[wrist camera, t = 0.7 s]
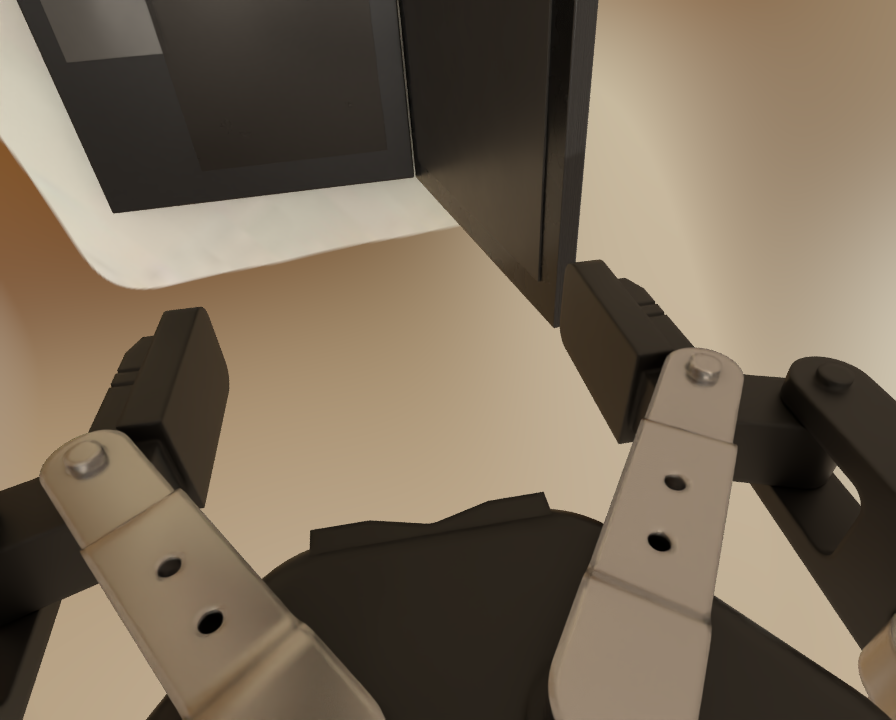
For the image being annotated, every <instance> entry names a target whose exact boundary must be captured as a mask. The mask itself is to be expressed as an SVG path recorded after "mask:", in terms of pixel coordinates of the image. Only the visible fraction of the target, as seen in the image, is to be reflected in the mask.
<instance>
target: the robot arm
mask: <svg viewBox="0 0 896 720" xmlns="http://www.w3.org/2000/svg"><path fill="white" fill-rule="evenodd" d="M560 333H561V338H562V342H563V344H564V346H565V349H566V350H567V352H568V354H569V356H570V357H571V359H572V361H573V363H574V364H575V366H576V368H577V370H578V372H579V374H580V375H581V377H582V379H583V381H584V383H585V384H586V386H587V388H588V390H589V391H590V393H591V395H592V397H593V399H594V401H595V402H596V404H597V406H598V407H599V410H600V411H601V413H602V415H603V417H604V419H605V420H606V422H607V424H608V426H609V428H610V429H611V431H612V433H613V435H614V437H615V438H616V440H617V442H618V443H619V444H622V443H629V442H633V444H632V447H631V449H630V452H629V455H628V458H627V461H626V463H625V466H624V469H623V472H622V475H621V477H620V480H619V483H618V486H617V488H616V491H615V494H614V497H613V500H612V502H611V505H610V508H609V511H608V513H607V516H606V519H605V522H604V524H603V523H601V522H599V521H597V520H595V519H592V518H589V517H587V516H584V515H580V514H577V513H573V512H568V511H563V510H555V509H550V507H549V505H548V502H547V500H546V497H545V494H544V492H540V493H534V494H527V495H521V496H515V497H509V498H503V499H497V500H491V501H487V502H484V503H482V504H480V505H477V506H475V507H472V508H470V509H467V510H465V511H463V512H460V513H458V514H455V515H453V516H451V517H448V518H445V519H443V520H441V521H438V522H435V523H431V524H422V523H405V522H386V521H364V522H358V523H351V524H346V525H339V526H334V527H327V528H322V529H315V530H311V531H310V549H309V550H307V551H305V552H302V553H300V554H298V555H296V556H294V557H293V558H291V559H289V560H287V561H285V562H284V563H282V564H281V565H279V566H278V567H276V568H275V569H274V570H272V571H271V572H270V573H269V574H268V575H266V576H265V577H264V578H263V579H261V578H260V577H259V575H258V574H257V573H256V572H255V571H254V570H253V569H252V568H251V566H250V565H249V564H248V563H247V562H246V561H245V560H244V558H243V557H242V556H241V555H240V554H239V553H238V552H237V551H236V549H235V548H234V547H233V546H232V545H231V544H230V543H229V541H228V540H227V539H226V538H225V537H224V536H223V535H222V534H221V532H220V531H219V530H218V529H217V528H216V527H215V526H214V524H213V523H212V522H211V521H210V520H209V519H208V518H207V517H206V515H205V514H204V513H203V512H202V511H201V510H200V508H204V507H205V502H206V498H207V493H208V488H209V483H210V478H211V474H212V469H213V464H214V460H215V455H216V450H217V445H218V440H219V436H220V431H221V426H222V422H223V417H224V412H225V407H226V403H227V398H228V393H229V375H228V369H227V365H226V362H225V359H224V357H223V354H222V351H221V348H220V346H219V343H218V340H217V337H216V335H215V332H214V329H213V326H212V324H211V321H210V318H209V316H208V314H207V311H206V310H205V309H204V308H203V307H195V308H186V309H178V310H170V311H165V312H164V313H163V315H162V318H161V320H160V322H159V325H158V327H157V330H156V332H155V334H154V336H148V337H142V338H141V339H140V340H139V341H138V342H137V343H136V344H135V345H134V346H133V347H132V348H131V349H129V350H128V351H127V352H126V353H125V355H124V357H123V360H122V362H121V364H120V366H119V368H118V370H117V371H118V374H115V376H114V379H113V381H112V383H111V388H109V389H108V391H107V394H106V396H105V398H104V400H103V402H102V404H101V407H100V409H99V411H98V413H97V415H96V417H95V419H94V422H93V424H92V426H91V428H90V430H89V432H88V433H86V434H83V435H81V436H79V437H76V438H74V439H72V440H70V441H68V442H67V443H65V444H64V445H62V446H61V447H59V448H58V449H57V450H56V451H54V452H53V453H52V454H51V455H50V456H49V458H48V459H47V460H46V461H45V463H44V464H43V466H42V468H41V471H40V475H39V477H37V478H35V479H33V480H30V481H27V482H24V483H22V484H19V485H16V486H13V487H11V488H8V489H5V490H2V491H0V720H23V716H24V714H25V710H26V707H27V704H28V701H29V698H30V695H31V692H32V689H33V686H34V683H35V680H36V677H37V673H38V671H39V668H40V665H41V662H42V658H43V655H44V652H45V649H46V646H47V643H48V640H49V637H50V634H51V631H52V628H53V624H54V622H55V619H56V616H57V613H58V609H59V607H60V603H61V600H62V599H64V598H67V597H69V596H71V595H73V594H76V593H78V592H80V591H82V590H85V589H87V588H89V587H92V586H94V585H96V584H100V586H101V588H102V589H103V591H104V592H105V594H106V596H107V597H108V599H109V600H110V602H111V604H112V605H113V607H114V609H115V610H116V612H117V613H118V615H119V617H120V618H121V620H122V621H123V623H124V625H125V626H126V628H127V629H128V631H129V633H130V634H131V636H132V638H133V639H134V641H135V642H136V644H137V646H138V647H139V649H140V651H141V652H142V654H143V656H144V657H145V659H146V660H147V662H148V664H149V665H150V667H151V668H152V670H153V672H154V673H155V675H156V677H157V678H158V680H159V681H160V683H161V685H162V686H163V688H164V690H165V691H166V693H167V694H166V695H165V697H164V698H163V699H162V700H161V702H160V703H159V704H158V705H157V707H156V708H155V709H154V710H153V712H152V713H151V714H150V715H149V717H148V718H147V719H146V720H896V401H895V400H894V399H893V398H892V397H891V396H890V395H889V394H888V393H887V392H886V391H884V390H883V389H882V388H881V387H880V386H879V385H878V384H877V383H876V382H875V381H874V380H872V379H871V378H870V377H869V376H868V375H867V374H866V373H864V372H863V371H861V370H860V369H858V368H856V367H854V366H852V365H850V364H847V363H845V362H842V361H839V360H836V359H832V358H826V357H805V358H801V359H798V360H796V361H795V362H794V363H793V364H792V365H791V367H790V369H789V371H788V373H787V376H786V378H780V377H767V376H754V375H745V374H743V372H742V370H741V368H740V367H739V366H738V365H737V364H736V363H735V362H734V361H733V360H732V359H730V358H729V357H727V356H725V355H723V354H721V353H718V352H716V351H713V350H709V349H704V348H695V347H694V346H693V345H692V344H691V343H690V342H689V340H688V339H687V338H686V337H685V336H684V335H683V333H682V332H681V331H680V330H679V329H678V328H677V326H676V325H675V324H674V323H673V322H672V321H671V319H670V318H669V317H668V316H667V315H664V311H663V310H662V309H661V308H660V307H659V306H658V304H655V301H654V300H653V299H652V297H651V296H650V295H649V294H648V293H647V292H646V290H645V289H644V288H642V287H640V286H639V285H637V284H635V283H633V282H632V281H630V280H628V279H626V278H621V279H617V277H616V276H615V275H614V274H613V273H612V271H611V270H610V269H609V268H608V266H607V265H606V264H605V263H604V262H603V261H602V260H592V261H584V262H575V263H569V264H568V265H567V266H566V269H565V274H564V283H563V293H562V303H561V313H560ZM836 466H838V467H839V468H840V469H841V470H842V471H843V473H844V474H845V475H846V476H847V477H848V478H849V480H850V481H851V482H852V483H853V485H854V486H855V487H856V489H857V491H858V494H859V497H860V500H861V506H860V505H859V503H858V502H857V501H856V500H855V499H854V497H853V496H852V495H851V494H850V493H849V491H848V490H847V489H846V488H845V487H844V485H843V484H842V483H841V482H840V481H839V479H838V478H837V477H836V476H835V475H834V473H833V471H834V469H835V468H836ZM732 481H736V482H745V483H750V484H751V486H752V487H753V489H754V490H755V491H756V493H757V495H758V496H759V498H760V499H761V501H762V502H763V504H764V505H765V506H766V508H767V510H768V511H769V513H770V514H771V515H772V517H773V518H774V520H775V521H776V523H777V524H778V526H779V527H780V529H781V530H782V532H783V533H784V535H785V536H786V538H787V539H788V541H789V542H790V544H791V545H792V547H793V548H794V550H795V551H796V553H797V554H798V556H799V557H800V559H801V560H802V562H803V563H804V565H805V566H806V567H807V569H808V571H809V572H810V574H811V575H812V577H813V578H814V580H815V581H816V583H817V584H818V585H819V587H820V588H821V590H822V591H823V593H824V595H825V596H826V597H827V599H828V600H829V602H830V604H831V605H832V607H833V608H834V610H835V611H836V612H837V614H838V615H839V617H840V618H841V620H842V621H843V623H844V624H845V626H846V627H847V629H848V630H849V632H850V633H851V635H852V636H853V637H854V639H855V641H856V642H857V644H858V645H859V647H860V648H861V650H862V652H861V653H860V657H859V661H858V669H859V675H860V678H861V681H862V684H863V686H864V688H865V690H866V692H867V694H868V696H869V697H868V698H867V697H865V696H864V695H863V694H861V693H860V692H858V691H857V690H856V689H854V688H853V687H851V686H849V685H848V684H847V683H845V682H844V681H842V680H841V679H839V678H838V677H836V676H835V675H833V674H832V673H830V672H829V671H827V670H825V669H824V668H823V667H821V666H820V665H818V664H816V663H815V662H814V661H812V660H810V659H809V658H808V657H806V656H805V655H803V654H802V653H800V652H799V651H797V650H796V649H794V648H793V647H791V646H790V645H788V644H787V643H785V642H783V641H782V640H780V639H779V638H777V637H776V636H774V635H773V634H771V633H770V632H768V631H767V630H765V629H764V628H762V627H761V626H759V625H758V624H756V623H755V622H753V621H752V620H750V619H749V618H747V617H745V616H744V615H743V614H741V613H740V612H738V611H737V610H735V609H734V608H732V607H731V606H729V605H728V604H726V603H725V602H723V601H722V600H720V599H718V598H717V597H716V596H714V589H715V583H716V577H717V571H718V565H719V559H720V553H721V547H722V540H723V535H724V529H725V523H726V517H727V510H728V504H729V499H730V492H731V486H732Z"/></svg>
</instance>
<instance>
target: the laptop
mask: <svg viewBox="0 0 896 720" xmlns="http://www.w3.org/2000/svg"><path fill="white" fill-rule="evenodd" d="M17 2H18V4H19V6H20V9H21V11H22V13H23V15H24V18H25V20H26V22H27V24H28V26H29V29H30V31H31V33H32V35H33V37H34V40H35V42H36V44H37V46H38V48H39V51H40V53H41V55H42V57H43V60H44V62H45V64H46V66H47V68H48V71H49V73H50V75H51V77H52V79H53V82H54V84H55V86H56V88H57V91H58V93H59V95H60V97H61V99H62V102H63V104H64V106H65V108H66V110H67V113H68V115H69V117H70V119H71V122H72V124H73V126H74V128H75V130H76V133H77V135H78V137H79V139H80V141H81V144H82V146H83V148H84V150H85V153H86V155H87V157H88V159H89V161H90V164H91V166H92V168H93V170H94V172H95V175H96V177H97V179H98V181H99V183H100V186H101V188H102V190H103V192H104V195H105V197H106V199H107V201H108V203H109V206H110V208H111V210H112V212H113V213H122V212H130V211H139V210H147V209H155V208H164V207H172V206H180V205H188V204H197V203H205V202H213V201H222V200H230V199H238V198H247V197H255V196H263V195H272V194H280V193H288V192H297V191H305V190H313V189H321V188H330V187H338V186H346V185H355V184H363V183H371V182H380V181H388V180H396V179H405V178H413V177H414V169H413V159H412V149H411V139H410V129H409V119H408V109H407V99H406V89H405V79H404V69H403V59H402V49H401V39H400V29H399V19H398V9H397V0H17Z"/></svg>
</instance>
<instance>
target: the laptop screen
mask: <svg viewBox="0 0 896 720" xmlns="http://www.w3.org/2000/svg"><path fill="white" fill-rule="evenodd" d="M399 7H400V18H401V28H402V38H403V48H404V59H405V69H406V79H407V89H408V100H409V110H410V120H411V130H412V141H413V151H414V161H415V171H416V178H417V179H418V180H419V181H420V182H421V183H422V184H423V185H424V186H425V187H426V189H427V190H428V191H429V192H430V193H431V194H432V195H433V196H434V197H435V198H436V200H437V201H438V202H439V203H440V204H441V205H442V206H443V207H444V208H445V209H446V210H447V212H448V213H449V214H450V215H451V216H452V217H453V218H454V219H455V220H456V221H457V223H458V224H459V225H460V226H461V227H462V228H463V229H464V230H465V231H466V232H467V233H468V235H469V236H470V237H471V238H472V239H473V240H474V241H475V242H476V243H477V244H478V245H479V247H480V248H481V249H482V250H483V251H484V252H485V253H486V254H487V255H488V257H490V259H491V260H492V261H493V262H494V263H495V264H496V265H497V266H498V267H499V269H500V270H501V271H502V272H503V273H504V274H505V275H506V276H507V277H508V278H509V279H510V281H511V282H512V283H513V284H514V285H515V286H516V287H517V288H518V289H519V290H520V292H521V293H522V294H523V295H524V296H525V297H526V298H527V299H528V300H529V301H530V302H531V304H532V305H533V306H534V307H535V308H536V309H537V310H538V311H539V312H540V313H541V315H542V316H543V317H544V318H545V319H546V320H547V321H548V322H549V323H550V324H551V326H553V327H554V328H557V327H560V313H561V303H562V293H563V283H564V274H565V269H566V266H567V265H568V264H569V263H575V262H576V250H577V239H578V227H579V216H580V205H581V193H582V182H583V169H584V159H585V147H586V136H587V124H588V113H589V101H590V89H591V78H592V66H593V56H594V44H595V33H596V21H597V9H598V0H399Z"/></svg>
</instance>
